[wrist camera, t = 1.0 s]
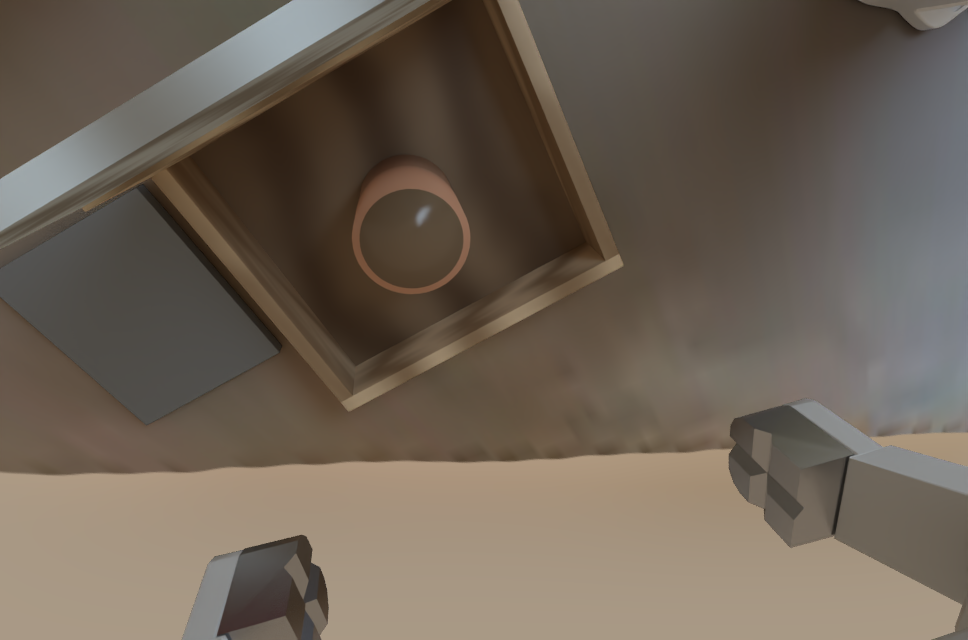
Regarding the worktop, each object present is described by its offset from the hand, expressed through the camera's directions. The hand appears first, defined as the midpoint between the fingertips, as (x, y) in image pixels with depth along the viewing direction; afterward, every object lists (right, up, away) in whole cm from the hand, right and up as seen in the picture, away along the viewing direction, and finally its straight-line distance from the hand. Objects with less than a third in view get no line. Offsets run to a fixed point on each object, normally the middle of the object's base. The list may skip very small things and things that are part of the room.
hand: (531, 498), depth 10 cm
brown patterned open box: (-6, +12, +27) cm, 30 cm away
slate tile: (-25, +4, +27) cm, 37 cm away
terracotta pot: (-6, +11, +26) cm, 29 cm away
